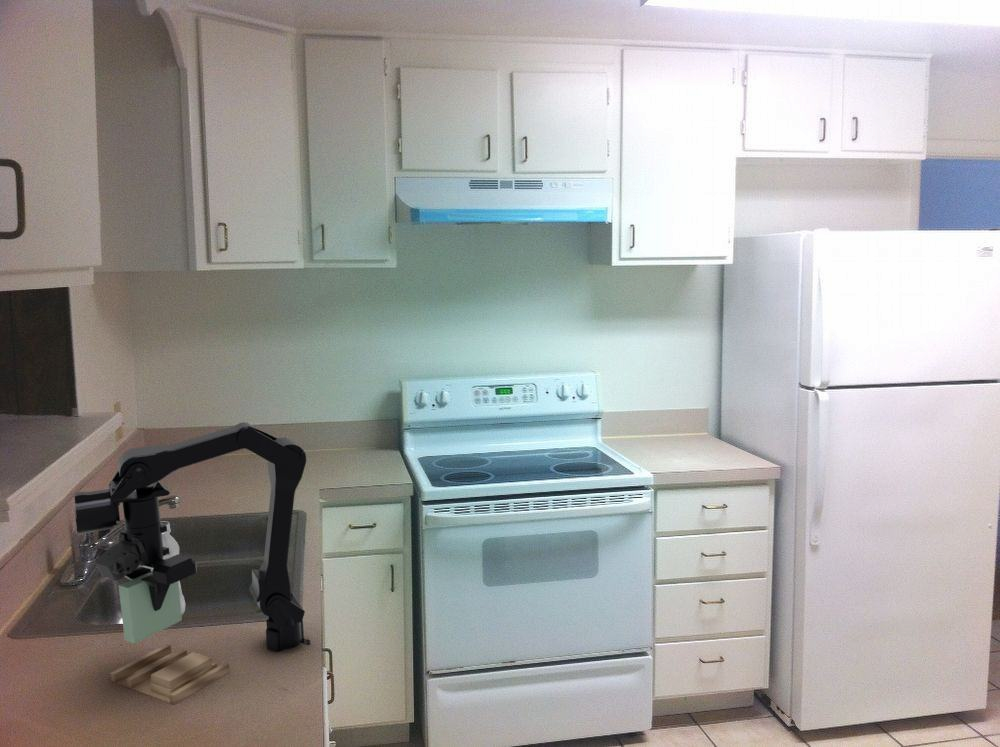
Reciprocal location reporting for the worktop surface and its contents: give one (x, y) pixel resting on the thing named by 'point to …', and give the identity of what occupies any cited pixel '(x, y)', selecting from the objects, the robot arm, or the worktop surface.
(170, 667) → the offcut top
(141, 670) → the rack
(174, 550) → the plastic bottle
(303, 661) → the worktop surface
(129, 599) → the pale green square slab
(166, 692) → the block
